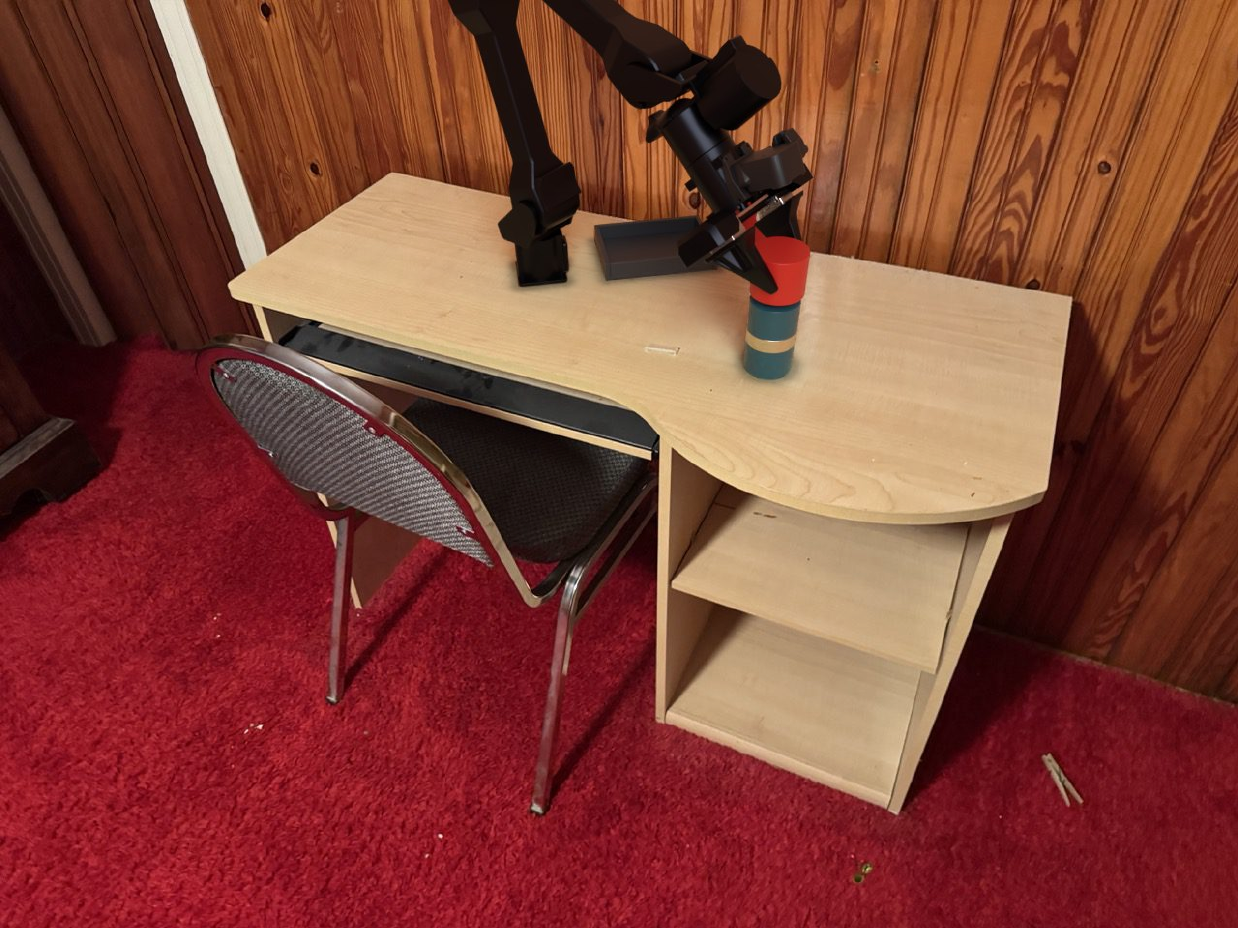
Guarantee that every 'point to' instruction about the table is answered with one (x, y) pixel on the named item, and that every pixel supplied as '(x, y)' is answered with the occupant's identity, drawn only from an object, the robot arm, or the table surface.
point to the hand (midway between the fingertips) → (789, 280)
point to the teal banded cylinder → (770, 339)
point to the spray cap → (783, 269)
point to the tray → (645, 247)
